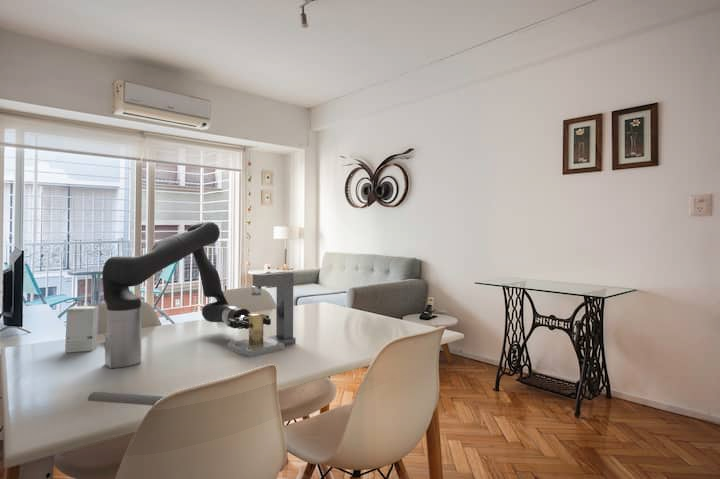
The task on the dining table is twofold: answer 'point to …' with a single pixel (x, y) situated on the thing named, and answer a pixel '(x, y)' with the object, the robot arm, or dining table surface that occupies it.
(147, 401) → the half round rod
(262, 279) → the press
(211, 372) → the dining table surface
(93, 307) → the skincare box
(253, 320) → the cylinder
